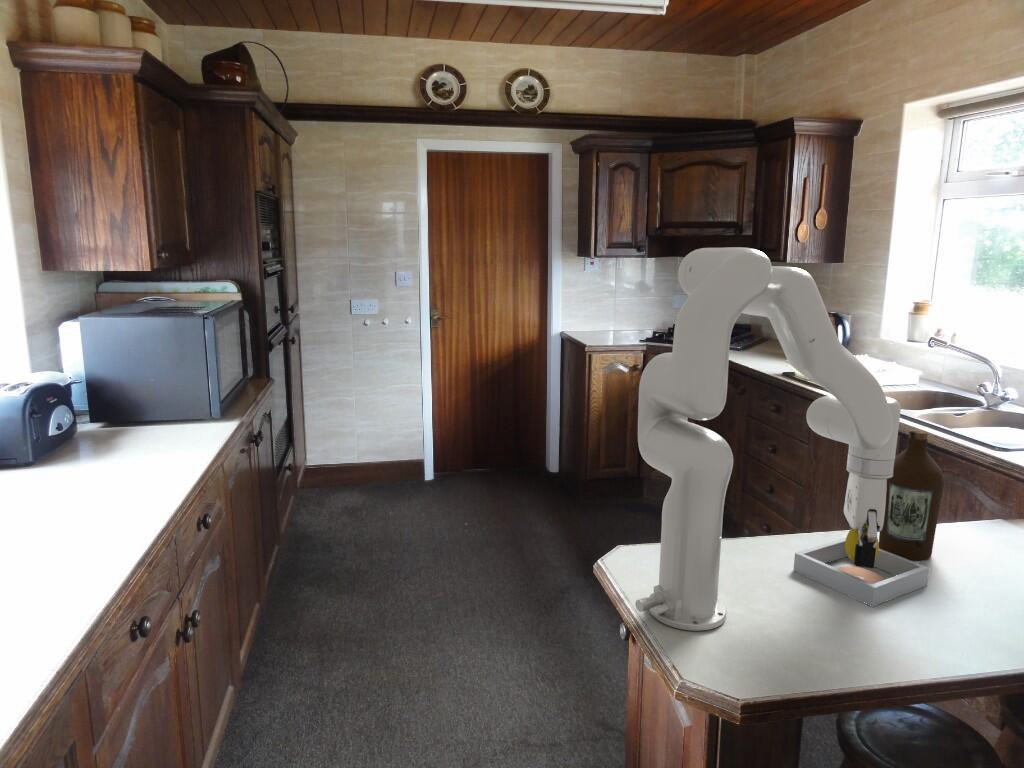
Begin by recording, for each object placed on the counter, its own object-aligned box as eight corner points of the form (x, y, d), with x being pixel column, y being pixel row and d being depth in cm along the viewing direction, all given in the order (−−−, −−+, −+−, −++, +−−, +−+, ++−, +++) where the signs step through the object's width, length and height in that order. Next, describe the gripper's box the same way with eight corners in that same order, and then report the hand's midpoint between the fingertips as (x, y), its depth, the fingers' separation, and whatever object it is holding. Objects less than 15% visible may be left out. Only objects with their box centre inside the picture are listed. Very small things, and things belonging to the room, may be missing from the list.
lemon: (869, 575, 126) (874, 533, 124) (838, 565, 130) (842, 524, 128) (880, 566, 130) (885, 525, 128) (849, 557, 133) (854, 517, 132)
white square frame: (872, 607, 119) (874, 587, 119) (793, 570, 133) (795, 552, 132) (926, 585, 127) (929, 567, 127) (847, 553, 141) (848, 536, 140)
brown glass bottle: (878, 536, 149) (890, 422, 145) (936, 548, 144) (951, 429, 139) (871, 554, 140) (885, 433, 136) (933, 567, 135) (949, 441, 130)
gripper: (839, 450, 135) (830, 539, 138) (857, 477, 119) (846, 576, 122) (882, 453, 133) (871, 543, 137) (906, 481, 117) (894, 582, 120)
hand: (860, 558), depth 129 cm, fingers closed on lemon, 5 cm apart
